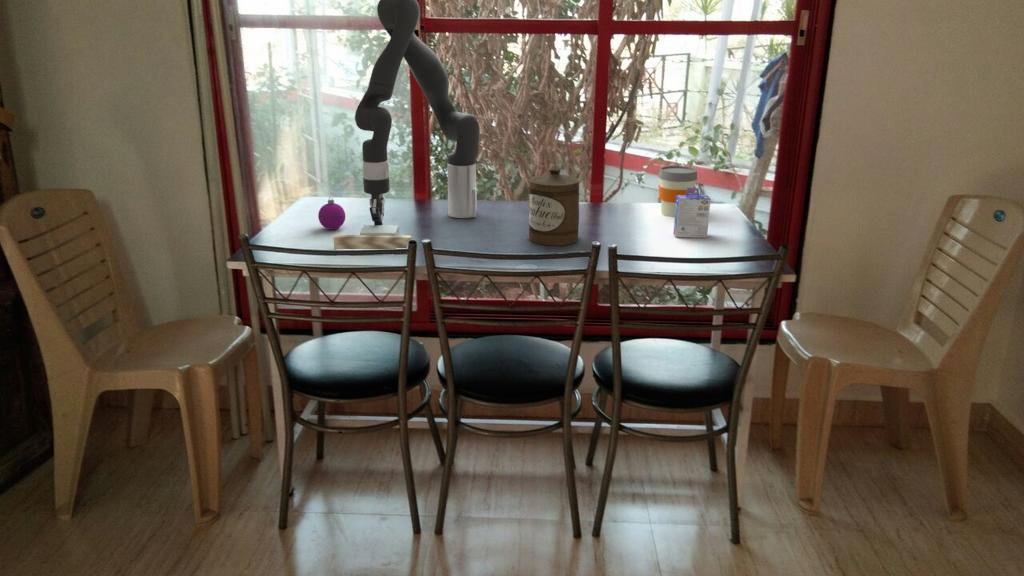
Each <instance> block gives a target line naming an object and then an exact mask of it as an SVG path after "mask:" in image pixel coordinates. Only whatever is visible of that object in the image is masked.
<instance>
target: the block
mask: <svg viewBox="0 0 1024 576" xmlns="http://www.w3.org/2000/svg"><path fill="white" fill-rule="evenodd" d="M399 227H400V225H395V224H394V225H391V224H390V225H389V224H388V225H374V224H364V225H363V227H362V228H361V230H360V232H359V235H400V228H399Z"/></svg>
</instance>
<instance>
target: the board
mask: <svg viewBox="0 0 1024 576" xmlns="http://www.w3.org/2000/svg"><path fill="white" fill-rule="evenodd" d="M332 239H333V250H334V249H396V248H407V246H408V242H409V241H410V240H412V241H413V236H412V235H404V234H403V235H402V234H401V235H400V234H399V235H360V234H334V235H333V238H332Z"/></svg>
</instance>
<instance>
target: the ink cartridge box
mask: <svg viewBox="0 0 1024 576" xmlns="http://www.w3.org/2000/svg"><path fill="white" fill-rule="evenodd" d="M699 189H700V188H699V187H696V188H687V195H676V205H675V217H674V222H673V223H674V224H673V235H674V237H675V238H693V239H694V238H699V239H701V238H705V239H706V238H708V229H709V220H710V219H709V218H710V217H709V216H710V207H711V197H709V196H708V195H707V194H705V195H704V194H700V190H699ZM691 190H695V193H689V191H691Z"/></svg>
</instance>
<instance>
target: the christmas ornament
mask: <svg viewBox="0 0 1024 576" xmlns="http://www.w3.org/2000/svg"><path fill="white" fill-rule="evenodd" d="M317 217H318V220H319V224H320V225H321V226H323V228H326V229H328V230H336V229H339V228H340V227H342V226H343V224H345V221H346V213H345V210H344V208H343V207H342V206H341V205H340V204H338V203H335V200H334V198H333V197H329V199H328V200H327V203H326V204H323V205H322V206H321V207H320V209H319V210H318V214H317Z"/></svg>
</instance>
